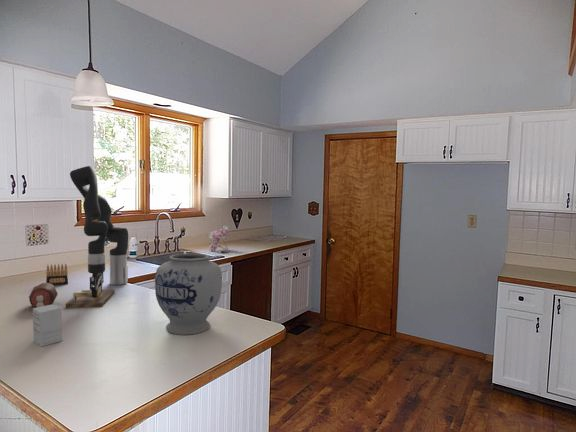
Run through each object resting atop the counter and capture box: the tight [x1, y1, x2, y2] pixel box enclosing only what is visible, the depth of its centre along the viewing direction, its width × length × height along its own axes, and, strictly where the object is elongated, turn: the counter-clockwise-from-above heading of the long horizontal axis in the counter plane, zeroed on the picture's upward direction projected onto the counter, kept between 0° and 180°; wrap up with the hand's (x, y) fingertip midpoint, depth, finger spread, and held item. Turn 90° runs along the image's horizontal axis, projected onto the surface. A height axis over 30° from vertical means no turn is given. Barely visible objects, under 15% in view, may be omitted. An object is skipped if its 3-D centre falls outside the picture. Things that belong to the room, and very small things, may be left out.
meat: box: [28, 282, 58, 309], centre depth 184 cm, size 20×12×10 cm, turn 24°
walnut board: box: [64, 289, 116, 309], centre depth 196 cm, size 16×24×2 cm, turn 11°
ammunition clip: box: [45, 263, 69, 286], centre depth 224 cm, size 11×2×12 cm, turn 115°
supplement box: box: [32, 303, 63, 347], centre depth 144 cm, size 7×7×13 cm
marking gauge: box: [72, 286, 101, 301], centre depth 190 cm, size 12×5×6 cm, turn 101°
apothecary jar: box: [154, 253, 223, 336], centre depth 162 cm, size 27×27×30 cm
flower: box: [208, 225, 231, 253], centre depth 348 cm, size 20×22×25 cm
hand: (97, 295), depth 191 cm, fingers open, 8 cm apart
